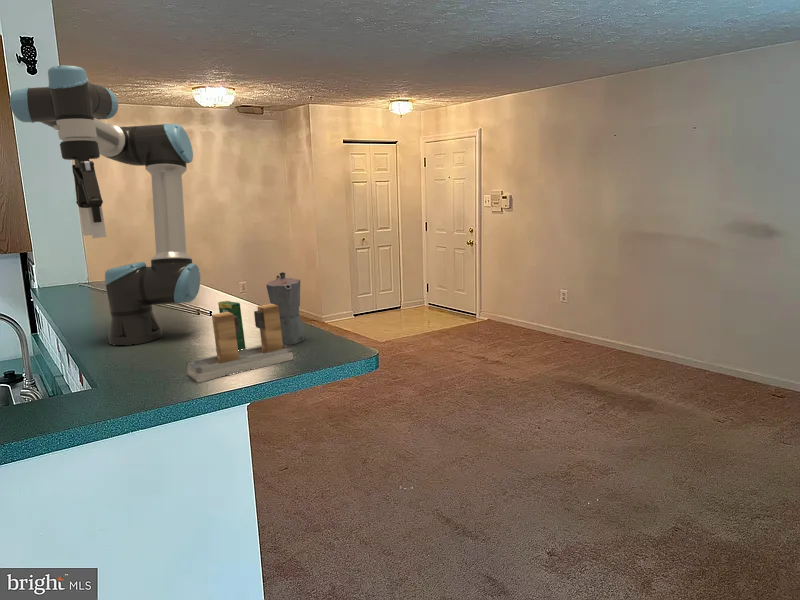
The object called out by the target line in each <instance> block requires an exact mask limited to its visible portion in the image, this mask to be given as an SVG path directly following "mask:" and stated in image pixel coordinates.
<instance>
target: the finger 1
mask: <svg viewBox="0 0 800 600" xmlns="http://www.w3.org/2000/svg"><path fill="white" fill-rule="evenodd" d="M211 318H212V319H211V320H212V327H213V334H214V342H215V347H216V348H215V349H216V350H215V351H216V355H217V358H218V363H221V362H225V361H229V360H234V359H238V358H239V354H238V346H237V338H236V334H237V333H240V328H239V319H238V317H237V316H235V315H234V314H232V313H230V312H224V313H220V312H218V313H214V314H211Z"/></svg>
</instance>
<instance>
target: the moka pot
mask: <svg viewBox="0 0 800 600" xmlns="http://www.w3.org/2000/svg"><path fill="white" fill-rule="evenodd" d="M265 288H266V289H267V291H266V292H267V294H268V299H269V304H275V305H278V306H279V315H280V324H281V334H282V343H283V344H285V345H287V346H290V345H295V344H299V343H300V344H301V342H303V341H304V340H306V336H305V330H304V328H303V322H302V320H301V319H302V318H301V315H300V306H301V279H296V278H292V277H286V272H279V275H276V278H275V279H273V280H270V281H268V282H267V283H266V287H265Z"/></svg>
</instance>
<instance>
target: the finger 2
mask: <svg viewBox="0 0 800 600" xmlns="http://www.w3.org/2000/svg"><path fill="white" fill-rule="evenodd" d="M256 306H257V307H256V308H257V310H254V311H253V317H254V324H255V327H256V328H258V329H259V333H260V342H261V345H262V352H268V351H273V350H277V349H281V348H283V343H282V334H281V324H280V315H279V306H278V305H275V304H271V303H268V304H263V305H256Z"/></svg>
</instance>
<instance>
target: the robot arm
mask: <svg viewBox="0 0 800 600" xmlns="http://www.w3.org/2000/svg"><path fill="white" fill-rule="evenodd" d="M47 76H48V86H44V87H41V86H40V87H26V88H19V89H14V90H13V91H12V92H11V94H10V95H9V107H10V109H11V112H12V113H13V115H14V118H16V119H17V120H18V121H20V122H22V123H32V124H35V123H42V124H44V125H47V126H48V127H51V128H52V129H53V130H56V131H57V135H58V139H59V140H62V141H61V142H60V143H59V147H60V153H61V158H62V159H63V160H66V161H67V160H68V161H71V160H72V161H74V164H72V166H71V168H72V174H73V175H72V176H73V177H74V178H73V179H74V180H73V181H74V186H75V187H74V188H75V196H76V198H75V199H76V204H77V206H78V211H79V216H80V221H81V222H80V223H81V227H82V233H83V236H84V237H86V236H91V238H92V239H98V238H107V232H106V226H105V219H104V218H105V217H104V213H103V206H102V205H103V203H104V201H103V199H102V193H101V190H100V186H99V183H98V178H97V174H96V169H95V163H94V161H93V160H95V159H99V158H100V157H101V156H102V157H104V158H107V159H110V160H112V161H115V162H118V163H122V164H125V165H129V166H136V167H137V166H138V167H139V166H144V167H145V171H147V172H148V173H149V174H150V175H151V189H152V190H151V191H152V193H151V194H152V206H153V209H152V210H153V225H154V227H153V228H154V240H155V241H154V243H155V255H154V256H153V257H152V258H151V259H150V264H151V265H150V266H147V264H146V262H145V261H139V262H134V263H130V264H128V263H127V264H124V265H119V266H116V267H111V268H109V269H107V270H106V271H105V272H104V281H105V284H104V286H105V288H106V294H107V295H106V296H107V300H108V306H109V311H110V312H109V313H110V318H111V319H110V322H109V323H110V325H109V330H108V335H107V339H108V344H109V343H111V344H115V345H126V346H133V345H132V344H135V345H140V344H145V343H149V342H153V341H156V340H157V339H160V338H161V337H163V330H162V327H161V325H160V323H159V321H158V318H157V317H156V315H155V314H154V311H153V306H157V305H169V304H170V305H171V304H172V305H173V304H179V305H180V304H184V303H190V302H192V301H194V300H195V299H196V298H197V296H198V294H199V291H200V287H201V272H200V268H199V266H198V265H197V264H196V263H193V258H192V257H191V256H190V255H189V254H188V253H187V241H186V239H187V238H186V226H185V225H186V224H185V210H184V209H185V208H184V192H183V175H184V174H185V173H186V172H187V171H188V169H187V164H190V163H192V162H193V158H194V151H193V146H192V143H191V139H190V137H189V135H188V133H187V131H186V130H185V129H184V127H183V126H182V125H180V124H177V123H161V124H149V125H148V124H146V125H132V126H131V125H130V126H129V125H128V126H118V125H116V124H113V123H106V122H105V121H102V120H109V119H111V118H114V116H116V114H117V112H118V109H119V100H118V97H117V96H116V95H115V93H114V92H113V91H111V90H110V89H108V88H106V87H105V86H103V85H101V84H94V83H91V82H89V78H88V75H87V72H86V70H85V69H84V67H83V68H82V67H80V66H76V65H67V64H66V65H54V66H51V67H49V69H47ZM115 345H114V346H115Z"/></svg>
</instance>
